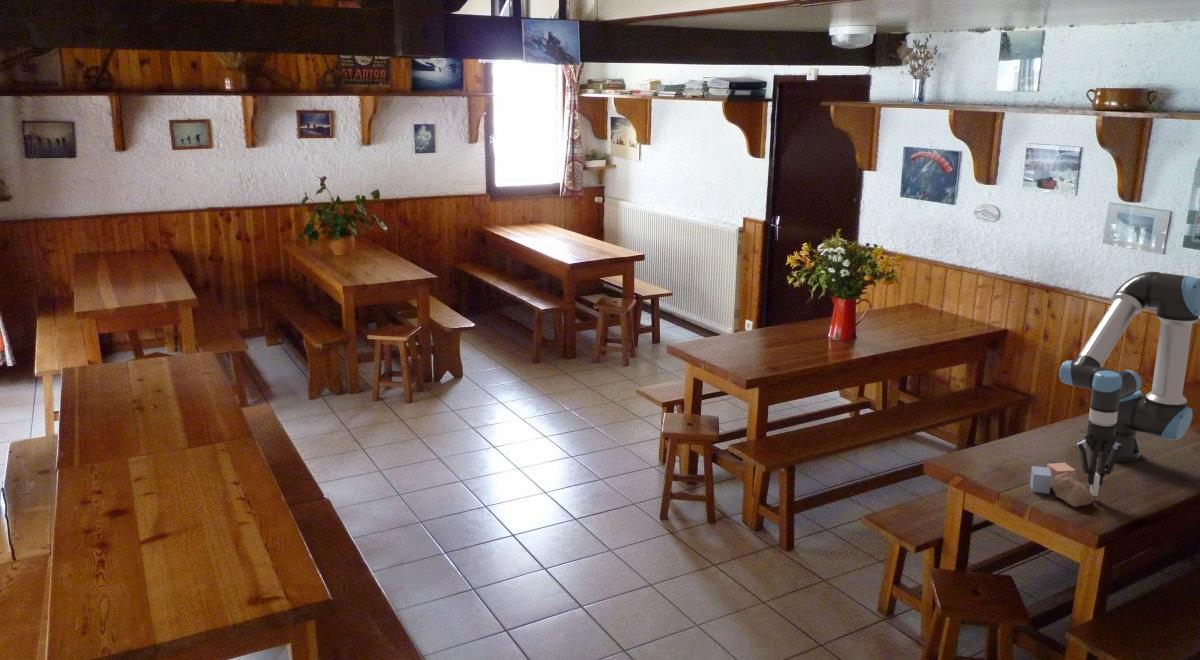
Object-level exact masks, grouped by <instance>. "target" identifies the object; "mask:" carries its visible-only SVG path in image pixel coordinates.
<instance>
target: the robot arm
mask: <svg viewBox="0 0 1200 660" xmlns="http://www.w3.org/2000/svg"><path fill="white" fill-rule="evenodd" d="M1110 303H1111V304H1110V306H1109V307H1108V309H1107V310H1106V311H1105V313H1104V315H1103V316H1102V318H1101V320H1100V321H1099V323H1098V324H1097V326H1096V327H1095V329H1094V330H1093V332H1092V333H1091V334H1090V335H1091V336H1090V337H1089V339H1088V340H1086V343H1085V345H1084V346H1083V347H1082V349H1081V351H1080V352H1079V353H1078V355H1077V357H1076V358H1075V360H1068V359H1067V360H1065V361H1063V362H1062V364H1061V365H1060V368H1059V370H1058V376H1059V380H1060V381H1061V382H1062V383H1064V384H1066V385H1069V386H1073V387H1077V388H1082V389H1087V390H1091V398H1090V405H1089V412H1088V413H1089V415H1088V422H1087V427H1086V428H1087V429H1086V435H1085V437H1084V439H1083V440H1081V441H1079V440H1077V441H1076V443H1075V444H1076V447H1078V450H1079V456H1080V457H1079V458H1080V462H1081V463H1080V464H1081V469H1082V471H1083V472H1084V473H1085V474H1088V475H1087V476H1088V477H1087V483H1088V485H1089V491H1090V492H1091V494H1092V496H1093V497H1097V496H1099V488H1100V486H1103V483H1104V477H1105V476H1106V475H1110V474H1111V473H1112V471H1113V468H1114V465H1115V464H1116V462H1121V463H1128V462H1129V463H1130V462H1131V463H1132V462H1136V461H1138V460H1139V459H1140V457H1141V449H1140V444H1139V441H1138V436H1137V433H1138V432H1140V433H1142V434H1143V433H1144V434H1147V435H1150V436H1154V437H1157V438H1161V439H1163V440H1164V439H1166V440H1170V441H1178V440H1180V439H1181V438H1183V436H1184V435H1185V434H1186V432H1188V429H1189V428H1190V426H1191V424H1192V420H1193V409H1192V408H1191V407H1189V406H1187V403H1188V399H1187V397H1186V396H1184V395H1183V392H1184V385H1185V384H1184V383H1185V380H1186V379H1185V378H1186V370H1187V364H1188V357H1189V349H1190V344H1191V334H1192V330H1193V329H1192V328H1193V324H1194V323H1196V322H1197V321H1200V320H1199V317H1200V278H1198V277H1194V276H1191V275H1183V274H1173V273H1166V272H1158V271H1147V272H1143V273H1139V274H1137V275H1134V276H1132V277H1131V278H1129V279H1127V281H1125V282H1123V284H1121V285H1120V286H1119V287H1118V288H1117V289H1116V290H1115V292H1114V293H1113V294H1112V296H1111V298H1110ZM1146 308H1150V309H1156V317H1157V318H1158V319H1159V320H1160V324H1159V325H1160V327H1159V334H1158V340H1157V348H1156V357H1155V363H1154V373H1153V379H1152V386H1151V390H1150V391H1149V392H1148V393H1146V394H1145V396H1143V392H1142V390H1140V389H1141V387H1142V385H1143V384H1142V378H1141V377H1140V375H1139V374H1138V373H1137V372H1136V371H1134V370H1130V369H1124V370H1119V371H1118V370H1114V369H1109V368H1106V367H1105V368H1104V367H1103V366H1104V364H1105V362H1106V360H1108V357H1109V356H1110V355H1111V353H1112V351H1113V350H1114V348H1115V347H1116V345H1117V343H1118V342H1119V340H1120V339H1121V337H1122V336H1123V333H1124V332H1125V331H1126V329H1127V328H1128V326H1129V325H1130V324H1131V321H1132V320H1133V319H1134V317H1135V316H1136V315H1139V314H1140V313H1141V312H1142V311H1143V309H1146ZM1087 446H1088V447H1089V452H1090V454H1089V461H1088V456H1087V451H1086V448H1087ZM1097 460H1098V461H1097ZM1096 471H1097V472H1096Z"/></svg>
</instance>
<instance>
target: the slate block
mask: <svg viewBox="0 0 1200 660" xmlns="http://www.w3.org/2000/svg"><path fill="white" fill-rule="evenodd" d="M1030 471H1031V472H1030V479H1029V480H1030V481H1029V485H1030V489H1031V492H1032V493H1039V494H1048V495H1050V493H1051V473H1050V470H1049V468H1047V466H1046V467H1044V466H1036V465H1032V466H1031V470H1030Z"/></svg>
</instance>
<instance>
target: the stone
mask: <svg viewBox="0 0 1200 660" xmlns="http://www.w3.org/2000/svg"><path fill="white" fill-rule="evenodd" d="M1051 484H1052V486H1051V488H1052V491H1053V493H1054V494H1055V496H1056V497H1057V498H1059V499H1060V500H1062V501H1064V502H1065V503H1066V504H1067V505H1070V506H1072V507H1074V508H1078V507H1082V506H1088V505H1090V504H1092V503H1093V501H1094V496H1092V494H1091V492H1090V489H1087V487H1086V485H1084V484H1083V483H1082V482H1081V481H1080V480H1079V479H1078V478H1077V477H1076V476H1075V477H1074V476H1073V475H1071V474H1069V473H1064V474H1058V475H1056V476H1055V477H1054V478H1053V479H1052V480H1051Z"/></svg>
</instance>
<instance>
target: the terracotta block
mask: <svg viewBox="0 0 1200 660" xmlns="http://www.w3.org/2000/svg"><path fill="white" fill-rule="evenodd" d="M1046 467H1047V468H1049V470H1050V473H1051V480H1052V479H1053V478H1054V477H1055V476H1056V475H1058V474H1064V473H1069V474H1071V475H1073V476H1074V477H1075V478H1076V472H1077V471H1076V469H1075V468H1073V467H1072V466H1070V465H1068V464H1067V463H1066V462H1057V463H1056V462H1055V463H1046ZM1050 487H1052V484H1051V485H1050Z"/></svg>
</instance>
